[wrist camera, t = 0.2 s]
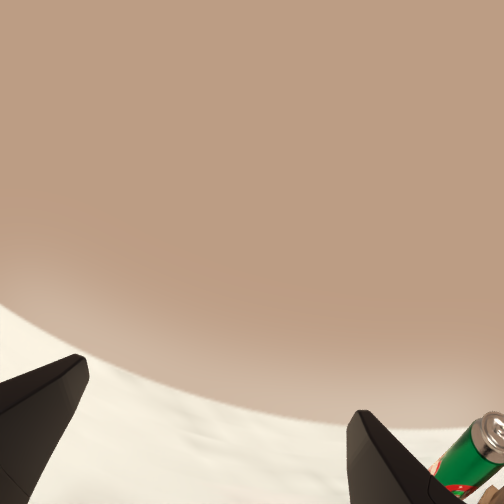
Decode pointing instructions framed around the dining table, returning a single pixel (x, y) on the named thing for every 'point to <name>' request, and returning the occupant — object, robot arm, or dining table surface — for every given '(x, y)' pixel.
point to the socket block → (493, 496)
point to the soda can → (472, 456)
